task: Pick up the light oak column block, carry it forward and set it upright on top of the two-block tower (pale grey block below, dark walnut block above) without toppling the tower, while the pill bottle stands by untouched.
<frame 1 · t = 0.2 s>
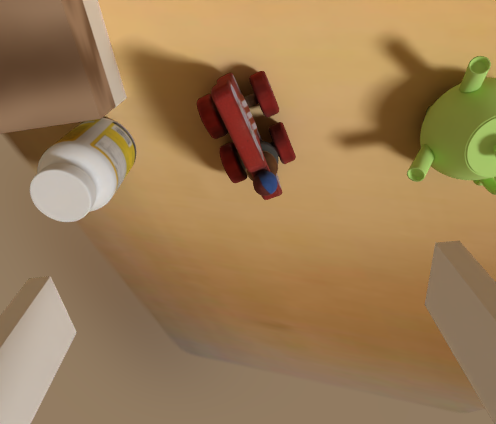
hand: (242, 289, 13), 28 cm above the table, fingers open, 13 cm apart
walnut block upper: (47, 60, 32), point 4 cm above the table, touching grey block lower
teapot: (456, 115, 38), on the table
toy fire truck: (249, 125, 39), on the table
pill bottle: (107, 145, 40), on the table
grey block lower: (66, 56, 35), on the table, touching walnut block upper
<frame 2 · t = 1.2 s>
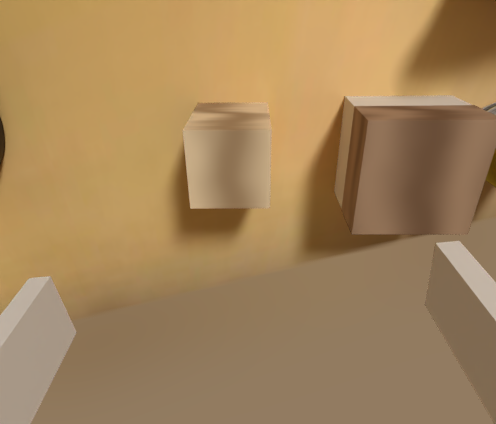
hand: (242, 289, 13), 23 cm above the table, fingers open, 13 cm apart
walnut block upper: (402, 161, 31), point 4 cm above the table
oak block: (233, 136, 34), on the table
pill bottle: (491, 134, 34), on the table
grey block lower: (388, 145, 34), on the table
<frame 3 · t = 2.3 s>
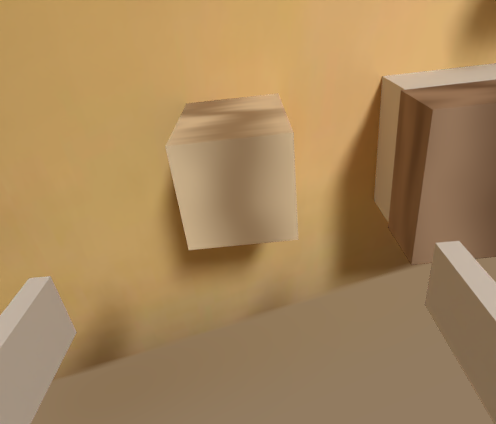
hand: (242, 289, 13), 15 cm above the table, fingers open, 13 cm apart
walnut block upper: (468, 157, 23), point 4 cm above the table, touching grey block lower
oak block: (237, 142, 26), on the table
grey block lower: (441, 135, 26), on the table, touching walnut block upper
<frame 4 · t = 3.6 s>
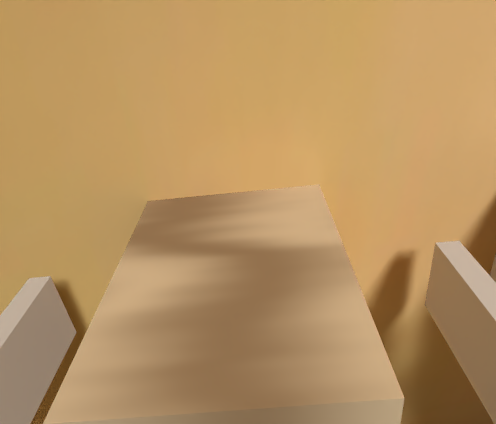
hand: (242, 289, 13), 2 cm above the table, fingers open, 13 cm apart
oak block: (242, 261, 15), on the table
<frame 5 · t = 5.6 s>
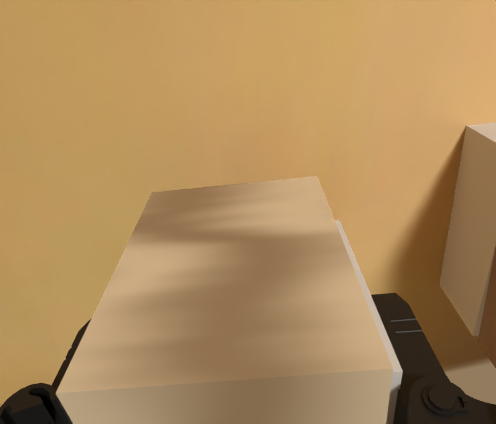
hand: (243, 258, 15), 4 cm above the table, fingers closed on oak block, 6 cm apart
oak block: (243, 251, 15), point 4 cm above the table, touching gripper
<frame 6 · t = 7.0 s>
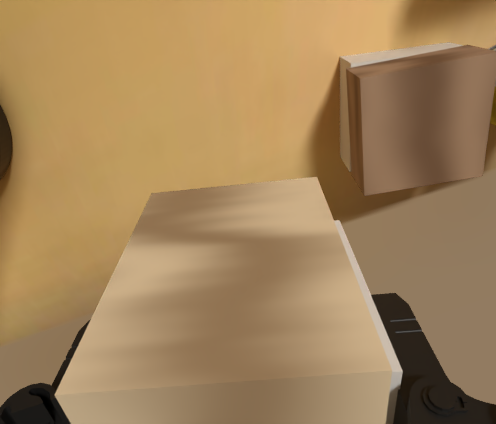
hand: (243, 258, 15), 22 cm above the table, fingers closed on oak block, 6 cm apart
walnut block upper: (404, 115, 31), point 4 cm above the table, touching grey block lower
oak block: (242, 252, 15), point 22 cm above the table, touching gripper
pill bottle: (495, 79, 33), on the table
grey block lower: (389, 102, 34), on the table, touching walnut block upper
when the fingers open (9 cm above the table, at t = 10.7 s): oak block stays where it is, point 8 cm above the table.
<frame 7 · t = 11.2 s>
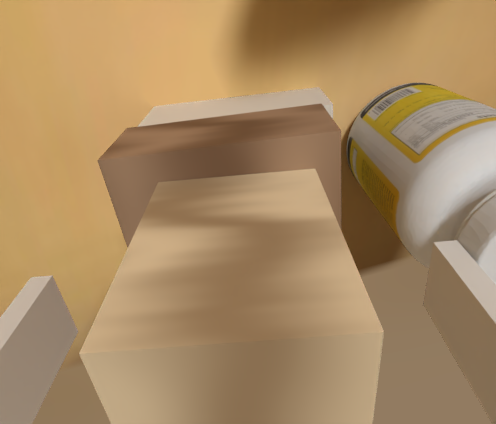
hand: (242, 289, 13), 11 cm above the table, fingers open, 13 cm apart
walnut block upper: (236, 202, 19), point 4 cm above the table, touching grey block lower
oak block: (243, 240, 16), point 8 cm above the table
pill bottle: (398, 137, 22), on the table, touching gripper
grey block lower: (245, 170, 23), on the table, touching walnut block upper
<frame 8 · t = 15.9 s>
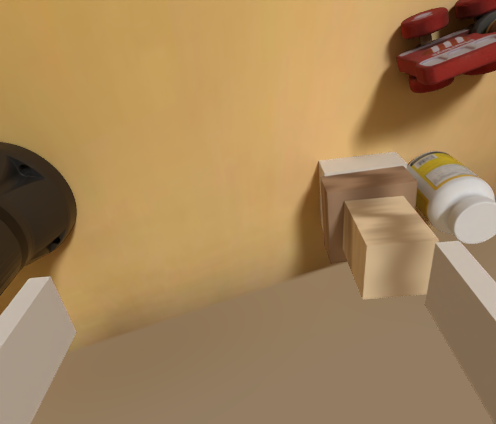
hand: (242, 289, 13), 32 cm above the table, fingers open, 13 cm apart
walnut block upper: (361, 206, 44), point 4 cm above the table, touching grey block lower
oak block: (371, 223, 40), point 8 cm above the table
toy fire truck: (445, 39, 39), on the table
pill bottle: (426, 173, 46), on the table
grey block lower: (355, 189, 47), on the table, touching walnut block upper
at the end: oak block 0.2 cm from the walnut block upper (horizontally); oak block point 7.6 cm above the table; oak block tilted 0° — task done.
